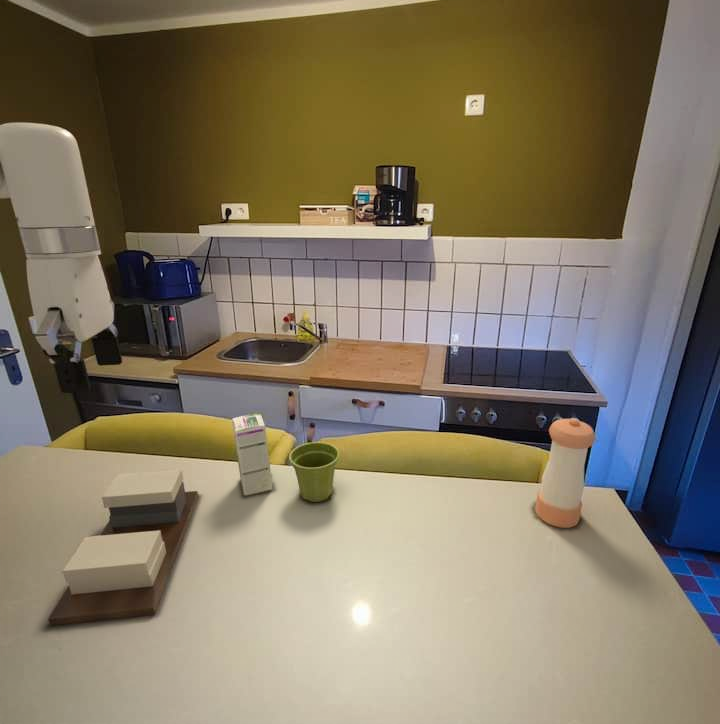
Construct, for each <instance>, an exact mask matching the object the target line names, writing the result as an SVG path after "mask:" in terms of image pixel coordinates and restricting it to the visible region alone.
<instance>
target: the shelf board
mask: <svg viewBox="0 0 720 724" xmlns="http://www.w3.org/2000/svg"><path fill="white" fill-rule="evenodd" d="M185 497H186V504H185V507H184V509H183V512H182V514H181V517H180V519H179V522H172V523H161V524H149V525H138V526H126V527H115V528H112V526H111V522H110V519H109V520H108V522H107V523H106V524H105V527H104V528H103V530H102V532H101V533H100V534H99V536H102V535H114V534H125V533H136V532H147V531H159V530H160V531H161V536H162V541H163V542H164V544H165V548H166V554H165V557H164V559H163V562H162V564H161V567H160V569H159V572H158V574H157V577H156V579H155V582H154V584H153V586H150V587H140V588H130V589H121V590H111V591H101V592H91V593H82V594H71V591H70V588H69V585H68V586H67V587H66V589H65V591H63V594H62V595H61V597H60V599H59V600H58V601H57V603H56V605H55V606H54V608H53V609H52V611H51V613H50V615H49V616H48V618H47V622H48V624H49V626H58V625H67V624H75V623H85V622H87V623H88V622H95V621H96V622H97V621H105V620H112V619H113V620H114V619H121V618H131V617H139V616H149V615H155V614H156V612H157V610H158V607H159V604H160V602H161V599H162V596H163V593H164V591H165V588H166V585H167V582H168V580H169V577H170V575H171V572H172V569H173V566H174V565H175V564H174V563H175V561H176V558H177V555H178V553H179V551H180V550H179V549H180V547H181V545H182V542H183V539H184V536H185V533H186V531H187V528H188V525H189V523H190V520H191V518H192V514H193V512H194V509H195V506H196V503H197V501H198V498H199V492H198V490H191V491H185Z"/></svg>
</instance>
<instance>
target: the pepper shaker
mask: <svg viewBox="0 0 720 724" xmlns="http://www.w3.org/2000/svg"><path fill="white" fill-rule="evenodd" d="M548 433H549V436H550V439H551V446H550V451H549V457H548V460H547V463H546V466H545V467H544V471H543V474H542V476H541V485H540V488H539V490H538V492H537V493H536V494H537V495H536V501H535V506H534V507H535V508H534V509H535V513H536V515H537V517H539V519H540V520H541V521H543V522H545V523H547V524H549V525H551V526H554V527H556V528H562V529H564V528H565V529H567V528H568V529H570V528H572V527H575V526H577V524H579V522H580V518H581V517H580V516H581V513H582V508H583V502H582V495H583V492H584V488H585V465H586V459H587V455H588V448H591V447H592V446H593V445H594V443H595V442H596V434H595V431H594V429H593V428H592V426H591V425H589V424H588V423H585V422H584V421H581V420H579V419H578V418H575V417H571V418H560V419H557V420H555V421H554V422H552V424H551V425H550V426H549V428H548Z"/></svg>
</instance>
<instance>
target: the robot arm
mask: <svg viewBox="0 0 720 724" xmlns="http://www.w3.org/2000/svg"><path fill="white" fill-rule="evenodd" d="M0 199H10V201H11V205H12V209H13V212H14V216H15V219H16V223H17V226H18V230H19V234H20V238H21V241H22V245H23V249H24V253H25V257H26V260H25V261H26V263H25V264H26V275H27V276H26V278H27V279H26V280H27V286H28V291H29V292H28V293H29V297H30V303H31V308H32V313H33V317H34V322H35V325H36V330H37V331H36V332H35V336H34V337H35V339H36V341H37V342H38V344H39V345H40V347H41V348H42V352H43V354H44V355H45V356H47V358H48V361H49V363H50V364H51V365H52V364H53V368H54V372H55V375H56V379H57V383H58V385H59V389H60V392H61V393H63V394H74V393H75V394H76V393H88V392H89V391H90V390H91V389H92V387H91V383H90V377H89V375H88V370H87V367H86V363H85V359H81V352H82V345H83V342H86V341H88V340H89V339H91V343H92V347H93V351H94V355H95V361H96V364H97V365H98V366H119V365H121V364H122V363H123V357H122V352H121V348H120V344H119V343H120V342H119V339H118V329H117V327H116V322H117V318H116V316H115V303H114V301H113V300H112V299H111V296H110V291H109V288H108V287H109V286H108V284H107V280H106V276H105V273H104V270H103V266H102V264H101V260H100V258H99V255H102V251H101V246H100V241H99V236H98V232H97V227H96V224H95V219H94V215H93V214H94V213H93V210H92V209H93V208H92V205H91V204H92V203H91V199H90V194H89V190H88V185H87V180H86V176H85V171H84V166H83V162H82V157H81V152H80V148H79V145H78V142H77V139H76V138H75V136H74V135H73V134H72V133H71V132H70V131H68V130H67V129H65V128H62V127H59V126H56V125H51V124H46V123H36V122H6V123H2V124H0ZM65 345H70V349H69V348H67V347H66V346H65Z"/></svg>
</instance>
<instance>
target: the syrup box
mask: <svg viewBox="0 0 720 724" xmlns="http://www.w3.org/2000/svg"><path fill="white" fill-rule="evenodd" d="M231 421H232V428H233V429H232V430H233V437H234V445H235V450H236V457H237V465H238V472H239V478H240V484H241V488H242V489H241V490H242V494H243V496H250V495H255V494H260V493H264V492H269V491H272V490H273V481H272V480H273V479H272V472H271V462H270V454H269V447H268V439H267V429H266V425H265V422H264V420H263V416H262V414H261V413H252V414H245V415H240V416H236V417H232V418H231Z"/></svg>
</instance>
